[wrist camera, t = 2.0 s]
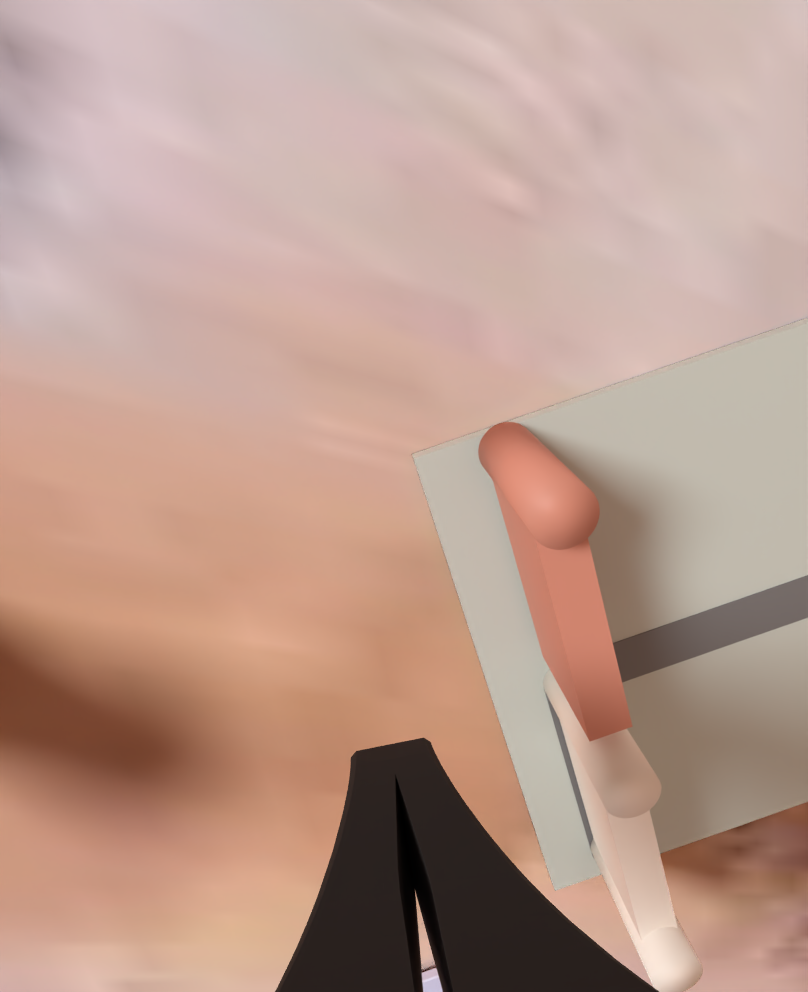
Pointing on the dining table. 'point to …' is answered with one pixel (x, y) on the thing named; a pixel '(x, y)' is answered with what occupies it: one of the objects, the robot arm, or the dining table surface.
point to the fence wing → (558, 572)
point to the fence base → (628, 844)
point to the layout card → (661, 588)
